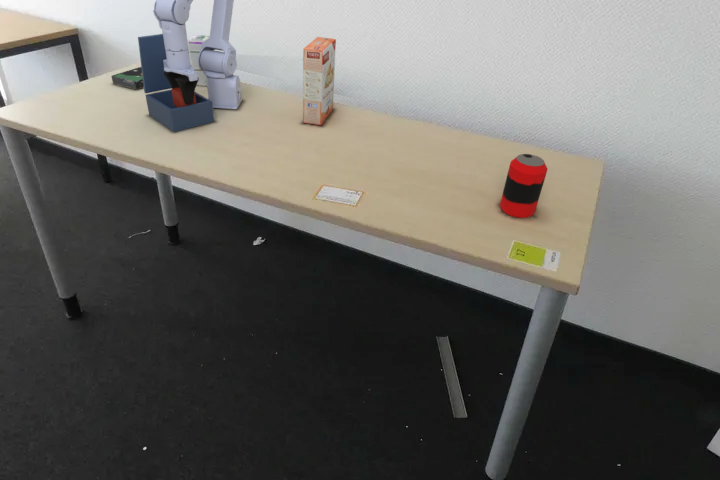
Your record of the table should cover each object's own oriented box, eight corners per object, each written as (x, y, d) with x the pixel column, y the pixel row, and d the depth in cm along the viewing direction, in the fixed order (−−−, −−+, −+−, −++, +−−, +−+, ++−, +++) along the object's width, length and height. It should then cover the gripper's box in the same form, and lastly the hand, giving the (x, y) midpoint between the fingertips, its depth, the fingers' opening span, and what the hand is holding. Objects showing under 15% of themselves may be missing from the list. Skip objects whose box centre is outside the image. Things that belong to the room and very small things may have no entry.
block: (196, 106, 138) (194, 90, 136) (181, 109, 136) (179, 93, 133) (188, 101, 141) (186, 85, 138) (173, 104, 138) (171, 88, 136)
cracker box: (322, 126, 144) (323, 50, 132) (302, 123, 145) (301, 47, 133) (334, 109, 155) (336, 38, 143) (315, 107, 156) (316, 35, 144)
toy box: (214, 121, 143) (212, 101, 139) (173, 132, 135) (170, 110, 132) (188, 106, 151) (185, 86, 147) (149, 115, 144) (145, 94, 140)
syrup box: (211, 86, 166) (206, 40, 158) (193, 85, 166) (187, 39, 158) (215, 80, 171) (211, 35, 163) (198, 79, 171) (192, 34, 163)
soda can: (528, 201, 115) (542, 152, 109) (539, 219, 109) (554, 169, 102) (495, 200, 115) (507, 151, 108) (504, 218, 109) (517, 167, 102)
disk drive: (147, 73, 174) (112, 84, 163) (145, 64, 173) (110, 75, 161) (170, 78, 171) (136, 90, 159) (169, 70, 169) (134, 81, 158)
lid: (183, 32, 137) (181, 31, 137) (139, 38, 130) (137, 36, 130) (186, 85, 147) (184, 84, 147) (145, 93, 140) (144, 92, 140)
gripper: (148, 44, 132) (158, 95, 139) (175, 57, 123) (184, 111, 131) (174, 40, 136) (182, 90, 144) (202, 53, 127) (208, 106, 135)
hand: (184, 100), depth 138 cm, fingers closed on block, 4 cm apart
